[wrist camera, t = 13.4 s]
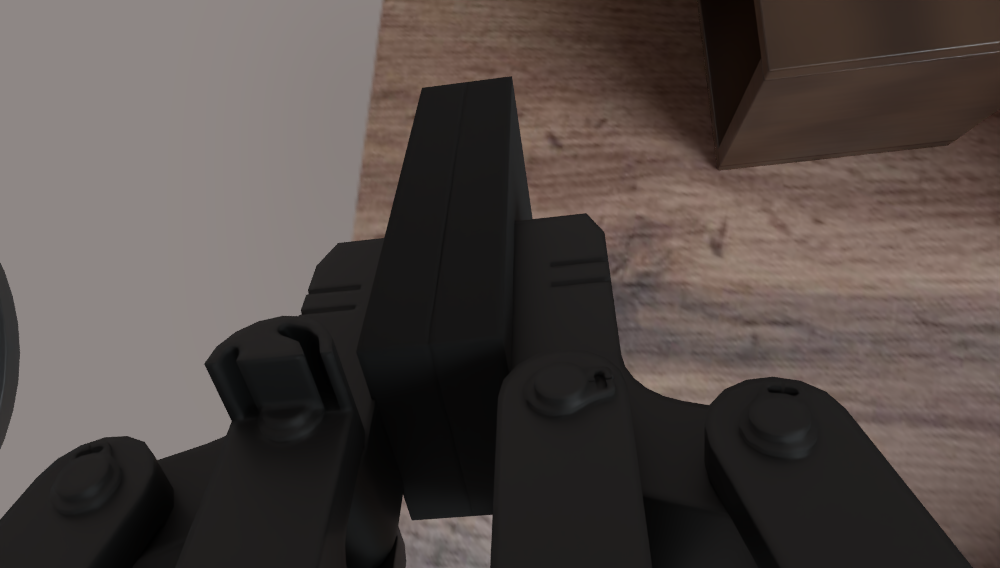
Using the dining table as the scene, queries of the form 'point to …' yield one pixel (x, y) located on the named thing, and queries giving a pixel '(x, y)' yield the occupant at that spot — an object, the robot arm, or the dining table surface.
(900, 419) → the dining table surface
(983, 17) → the cupboard
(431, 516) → the robot arm
